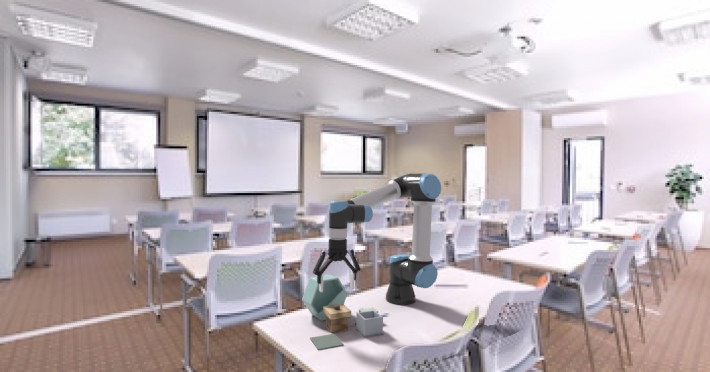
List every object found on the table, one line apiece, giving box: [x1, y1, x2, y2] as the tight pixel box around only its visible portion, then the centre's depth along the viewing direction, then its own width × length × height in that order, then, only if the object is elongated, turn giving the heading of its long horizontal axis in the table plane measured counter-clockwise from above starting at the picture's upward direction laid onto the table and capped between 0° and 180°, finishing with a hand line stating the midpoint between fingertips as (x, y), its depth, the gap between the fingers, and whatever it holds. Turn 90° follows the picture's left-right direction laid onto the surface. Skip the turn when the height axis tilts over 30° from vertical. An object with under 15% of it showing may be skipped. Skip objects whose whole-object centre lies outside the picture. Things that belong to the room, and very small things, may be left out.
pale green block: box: [358, 306, 379, 314], centre depth 159 cm, size 7×5×5 cm
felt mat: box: [309, 333, 344, 351], centre depth 138 cm, size 10×10×1 cm
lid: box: [323, 303, 352, 320], centre depth 151 cm, size 9×9×3 cm
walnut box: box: [325, 316, 349, 334], centre depth 151 cm, size 7×7×6 cm
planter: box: [301, 273, 348, 321], centre depth 164 cm, size 17×8×21 cm
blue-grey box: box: [355, 310, 384, 338], centre depth 148 cm, size 8×8×7 cm
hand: (336, 289), depth 150 cm, fingers open, 13 cm apart
